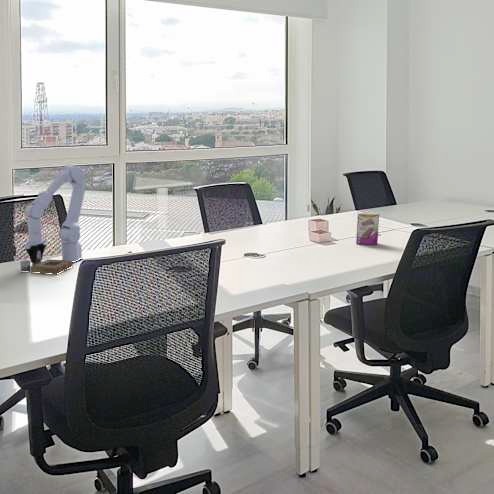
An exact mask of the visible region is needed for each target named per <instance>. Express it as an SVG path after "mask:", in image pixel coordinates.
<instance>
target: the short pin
mask: <svg viewBox="0 0 494 494" xmlns="http://www.w3.org/2000/svg"><path fill="white" fill-rule="evenodd" d="M19 262H20V272H21V271H30V270H31V260H27V259H26V260H21V261H19Z"/></svg>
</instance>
